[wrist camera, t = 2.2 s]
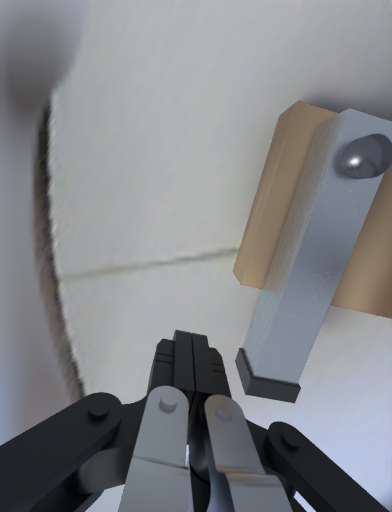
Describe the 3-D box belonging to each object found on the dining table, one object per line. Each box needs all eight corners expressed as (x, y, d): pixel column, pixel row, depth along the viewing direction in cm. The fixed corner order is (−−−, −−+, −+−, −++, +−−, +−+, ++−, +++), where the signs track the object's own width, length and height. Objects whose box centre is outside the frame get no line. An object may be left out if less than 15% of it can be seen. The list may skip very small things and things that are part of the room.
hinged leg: (314, 123, 15) (357, 100, 11) (364, 139, 15) (423, 121, 11) (235, 361, 19) (247, 402, 15) (276, 369, 19) (299, 411, 15)
